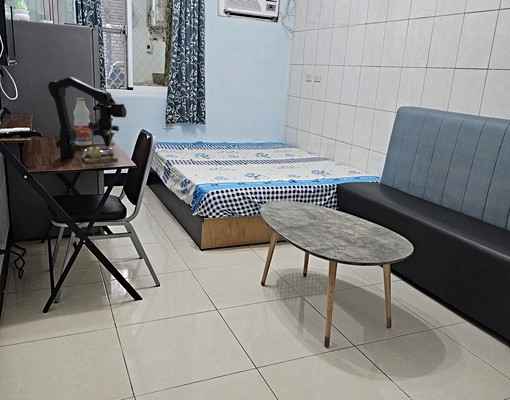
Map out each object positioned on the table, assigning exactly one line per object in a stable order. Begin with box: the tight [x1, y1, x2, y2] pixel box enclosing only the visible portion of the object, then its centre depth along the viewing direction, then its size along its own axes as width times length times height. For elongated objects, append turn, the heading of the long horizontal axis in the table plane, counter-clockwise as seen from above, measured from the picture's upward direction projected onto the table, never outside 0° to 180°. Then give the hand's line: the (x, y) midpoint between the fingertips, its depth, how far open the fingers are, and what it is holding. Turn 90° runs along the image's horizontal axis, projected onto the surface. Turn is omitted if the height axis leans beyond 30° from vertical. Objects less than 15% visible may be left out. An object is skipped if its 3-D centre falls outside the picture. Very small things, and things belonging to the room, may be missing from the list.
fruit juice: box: [72, 97, 93, 146], centre depth 268 cm, size 9×9×28 cm
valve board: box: [81, 146, 119, 164], centre depth 231 cm, size 16×13×7 cm
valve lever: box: [90, 141, 115, 147], centre depth 233 cm, size 11×3×2 cm, turn 115°
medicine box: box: [92, 134, 110, 150], centre depth 260 cm, size 8×4×9 cm, turn 141°
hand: (107, 146), depth 230 cm, fingers closed
